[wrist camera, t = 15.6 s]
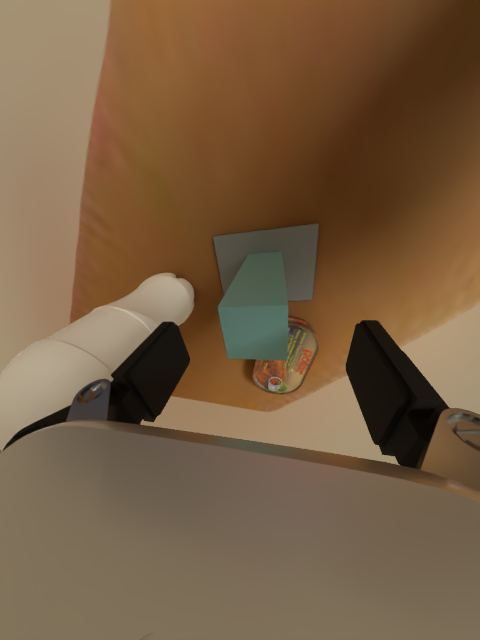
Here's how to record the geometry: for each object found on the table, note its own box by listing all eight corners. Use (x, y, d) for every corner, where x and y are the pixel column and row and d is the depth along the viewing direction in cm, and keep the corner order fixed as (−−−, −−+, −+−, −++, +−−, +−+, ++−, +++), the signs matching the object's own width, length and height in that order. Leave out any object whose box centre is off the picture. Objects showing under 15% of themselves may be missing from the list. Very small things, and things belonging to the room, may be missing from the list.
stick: (281, 283, 23) (287, 360, 12) (251, 285, 24) (227, 358, 13) (281, 251, 21) (288, 305, 10) (248, 254, 22) (217, 307, 10)
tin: (266, 318, 24) (330, 334, 23) (268, 307, 27) (326, 321, 26) (247, 388, 32) (294, 402, 31) (250, 374, 35) (294, 387, 34)
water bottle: (169, 257, 25) (-408, 528, 4) (209, 292, 27) (-36, 607, 6) (147, 290, 28) (-220, 528, 7) (184, 320, 30) (-26, 577, 9)
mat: (317, 223, 20) (319, 223, 19) (311, 298, 24) (312, 300, 24) (214, 236, 22) (212, 236, 22) (226, 301, 27) (225, 303, 26)
